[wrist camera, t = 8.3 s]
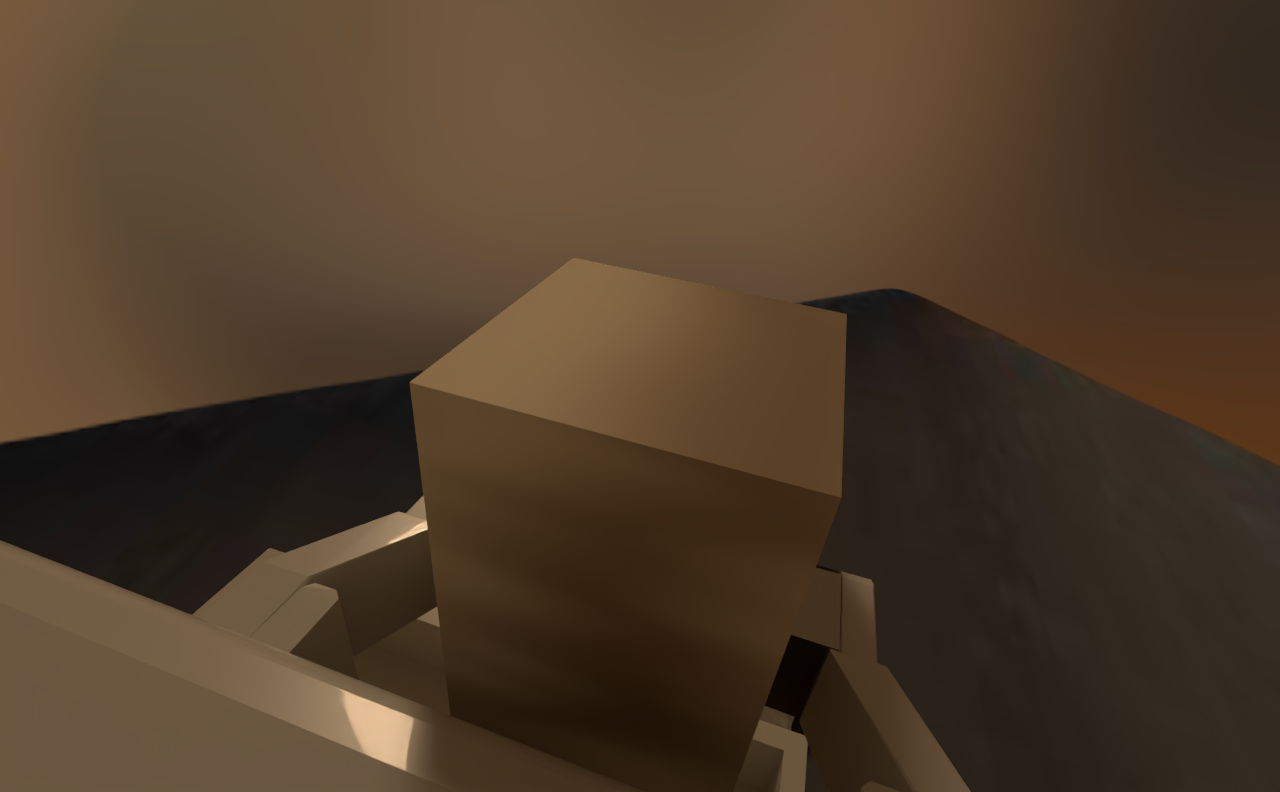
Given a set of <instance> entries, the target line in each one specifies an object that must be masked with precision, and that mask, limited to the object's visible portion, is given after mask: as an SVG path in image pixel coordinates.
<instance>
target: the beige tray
mask: <svg viewBox="0 0 1280 792" xmlns="http://www.w3.org/2000/svg"><path fill="white" fill-rule="evenodd" d="M281 554H284V553H283V552H280V551H277V550H274V549H271V548H269V549H268V550H267V551H265V552H264V553H263V554H262V555H261V556H260V557H258V558H257V559H256V560H255V561H254V562H253V563H252V564H250V565H249V566H248V567H247V568H246V569H245V570H243V571H242V572H241V573H240V574H239V575H238V576H236V577H235V578H234V579H233V580H232V581H231V582H230V583H228V584H227V585H226V586H225V587H224V588H223V589H221V590H220V591H219V592H218V593H217V594H216V595H214V596H213V597H212V598H211V599H210V600H209V601H208V602H206V603H205V604H204V605H203V606H202V607H201V608H199V609H198V610H197V611H196V612H195V613H194V614H192V615H193V616H195V617H199V616H201V615H202V614H203V613H204V612H205V611H206V610H207V609H209V608H210V607H211V606H212V605H213V604H214V603H215V602H217V601H218V600H219V599H220V598H221V597H222V596H224V595H225V594H226V593H227V592H228V591H229V590H230V589H232V588H233V587H234V586H235V585H236V584H237V583H238V582H240V581H241V580H242V579H243V578H244V577H245V576H246V575H248V574H249V573H250V572H251V571H252V570H253V569H255V568H256V567H257V566H258V565H259V564H260V563H261V562H263V561H265V560H268V559H271V558H273V557H276V556H279V555H281ZM354 659H355V663H356V667H357V671H358V674H359V678H360V681H362V682H365V683H367V684H370V685H373V686H375V687H378V688H380V689H383V690H385V691H388V692H391V693H393V694H396V695H398V696H401V697H403V698H406V699H409V700H411V701H414V702H416V703H419V704H421V705H424V706H427V707H429V708H432V709H434V710H437V711H439V712H442V713H445V714H447V715H450V707H449V699H448V691H447V682H446V674H445V666H444V658H443V650H442V642H441V634H440V625H439V617H438V609H437V607H436V608H434V609H432V610H431V611H429V612H427V613H426V614H424V615H422V616H421V617H419V618H417V619H416V620H414V621H412V622H411V623H409V624H407V625H406V626H404V627H402V628H401V629H399V630H397V631H396V632H394V633H392V634H391V635H389V636H387V637H386V638H384V639H382V640H381V641H379V642H377V643H376V644H374V645H372V646H371V647H369V648H367V649H366V650H364V651H363V652H361V653H359V654H358V655H356V656H354ZM450 716H451V715H450ZM807 746H808V742H807V740H806V737H805V735H802V734H799V733H796V732H793V731H790V730H788V729H785V728H782V727H779V726H776V725H773V724H770V723H768V722H765V721H762V720H759V722H758V725H757V728H756V731H755V733H754V736H753V739H752V741H751V744H750V747H749V750H748V752H747V755H746V758H745V760H744V763H743V766H742V769H741V771H740V774H739V777H738V779H737V782H736V785H735V788H734V790H733V792H804V790H805V776H806V761H807Z"/></svg>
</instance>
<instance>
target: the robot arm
mask: <svg viewBox="0 0 1280 792" xmlns="http://www.w3.org/2000/svg"><path fill="white" fill-rule="evenodd" d="M436 607H437V601H436V593H435V585H434V577H433V568H432V560H431V552H430V544H429V536H428V528H427V520H426V511H425V503H424V495H423V496H422V497H421V498H420V499H419V500H418V501H417V502H416V503H415V504H414V505H413V506H412V507H411V509H410V510H409V511H408V512H407V513H406V514H405V513H402V512H396V513H393V514H391V515H388V516H385V517H382V518H380V519H377V520H374V521H371V522H369V523H366V524H363V525H361V526H358V527H355V528H352V529H350V530H347V531H344V532H341V533H339V534H336V535H333V536H331V537H328V538H325V539H322V540H320V541H317V542H314V543H311V544H309V545H306V546H303V547H301V548H298V549H295V550H292V551H290V552H287V553H284V554H281V555H279V556H276V557H273V558H271V559H268V560H265V561H263V562H261V563H260V564H259V565H258V566H257V567H256V568H255V569H253V570H252V571H251V572H250V573H249V574H248V575H246V576H245V577H244V578H243V579H242V580H241V581H240V582H238V583H237V584H236V585H235V586H234V587H233V588H232V589H230V590H229V591H228V592H227V593H226V594H225V595H224V596H222V597H221V598H220V599H219V600H218V601H217V602H215V603H214V604H213V605H212V606H211V607H210V608H209V609H207V610H206V611H205V612H204V613H203V614H202V615H201V616H199V617H195V616H193V615H190V614H187V613H185V612H182V611H180V610H177V609H175V608H172V607H170V606H167V605H164V604H162V603H159V602H157V601H154V600H152V599H149V598H146V597H144V596H141V595H139V594H136V593H134V592H131V591H128V590H126V589H123V588H121V587H118V586H116V585H113V584H111V583H108V582H105V581H103V580H100V579H98V578H95V577H93V576H90V575H87V574H85V573H82V572H80V571H77V570H75V569H72V568H69V567H67V566H64V565H62V564H59V563H57V562H54V561H52V560H49V559H46V558H44V557H41V556H39V555H36V554H34V553H31V552H28V551H26V550H23V549H21V548H18V547H16V546H13V545H10V544H8V543H5V542H3V541H0V792H646V791H643V790H641V789H638V788H635V787H633V786H630V785H628V784H625V783H623V782H620V781H617V780H615V779H612V778H610V777H607V776H605V775H602V774H599V773H597V772H594V771H592V770H589V769H587V768H584V767H581V766H579V765H576V764H574V763H571V762H569V761H566V760H563V759H561V758H558V757H556V756H553V755H550V754H548V753H545V752H543V751H540V750H538V749H535V748H532V747H530V746H527V745H525V744H522V743H519V742H517V741H514V740H512V739H509V738H507V737H504V736H501V735H499V734H496V733H494V732H491V731H489V730H486V729H483V728H481V727H478V726H476V725H473V724H470V723H468V722H465V721H463V720H460V719H458V718H455V717H452V716H450V715H447V714H445V713H442V712H439V711H437V710H434V709H432V708H429V707H427V706H424V705H421V704H419V703H416V702H414V701H411V700H409V699H406V698H403V697H401V696H398V695H396V694H393V693H391V692H388V691H385V690H383V689H380V688H378V687H375V686H373V685H370V684H367V683H365V682H362V681H360V678H359V674H358V671H357V667H356V663H355V659H354V656H356V655H358V654H359V653H361V652H363V651H364V650H366V649H367V648H369V647H371V646H372V645H374V644H376V643H377V642H379V641H381V640H382V639H384V638H386V637H387V636H389V635H391V634H392V633H394V632H396V631H397V630H399V629H401V628H402V627H404V626H406V625H407V624H409V623H411V622H412V621H414V620H416V619H417V618H419V617H421V616H422V615H424V614H426V613H427V612H429V611H431V610H432V609H434V608H436ZM765 706H767V707H769V708H772V709H775V710H777V711H780V712H783V713H785V714H788V715H791V716H794V717H796V718H799V719H800V720H799V723H800V725H801V728H802V730H803V732H804V735H805V737H806V740H807V742H808V745H809V747H810V750H811V752H812V755H813V757H814V759H815V762H816V764H817V767H818V769H819V772H820V774H821V777H822V779H823V782H824V784H825V786H826V789H827V791H828V792H970V790H969V789H968V787H967V786H966V784H965V783H964V781H963V780H962V778H961V777H960V775H959V774H958V772H957V771H956V769H955V768H954V766H953V765H952V763H951V762H950V760H949V759H948V757H947V756H946V754H945V753H944V751H943V750H942V748H941V747H940V745H939V744H938V742H937V741H936V739H935V738H934V736H933V735H932V733H931V732H930V731H929V729H928V728H927V726H926V725H925V723H924V722H923V720H922V719H921V717H920V716H919V714H918V713H917V711H916V710H915V708H914V707H913V705H912V704H911V702H910V701H909V699H908V698H907V696H906V695H905V693H904V692H903V690H902V689H901V687H900V686H899V684H898V683H897V681H896V680H895V678H894V677H893V675H892V674H891V672H890V671H889V669H888V668H887V667H885V666H883V665H880V664H877V645H876V621H875V598H874V584H873V582H872V581H871V580H870V579H866V578H862V577H859V576H855V575H852V574H848V573H844V572H839V571H837V570H833V569H829V568H826V567H822V566H819V565H816V568H815V571H814V573H813V576H812V579H811V581H810V584H809V587H808V590H807V592H806V595H805V598H804V600H803V603H802V606H801V609H800V611H799V614H798V617H797V619H796V622H795V625H794V628H793V630H792V633H791V636H790V638H789V641H788V644H787V647H786V649H785V652H784V655H783V657H782V660H781V663H780V666H779V668H778V671H777V674H776V676H775V679H774V682H773V685H772V687H771V690H770V693H769V695H768V698H767V701H766V704H765Z"/></svg>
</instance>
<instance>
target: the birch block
mask: <svg viewBox="0 0 1280 792" xmlns="http://www.w3.org/2000/svg"><path fill="white" fill-rule="evenodd" d="M846 320H847V314H843V313H839V312H834V311H829V310H824V309H819V308H814V307H810V306H805V305H800V304H795V303H790V302H785V301H780V300H775V299H771V298H766V297H761V296H756V295H751V294H747V293H742V292H736V291H732V290H727V289H722V288H718V287H713V286H708V285H703V284H698V283H693V282H688V281H684V280H678V279H674V278H669V277H664V276H659V275H655V274H649V273H645V272H640V271H635V270H630V269H626V268H620V267H616V266H611V265H605V264H601V263H596V262H591V261H586V260H582V259H577V258H573V259H571V260H570V261H569V262H568V263H566V264H565V265H563V266H562V267H561V268H560V269H558V270H557V271H556V272H554V273H553V274H552V275H550V276H549V277H548V278H546V279H545V280H544V281H542V282H541V283H540V284H539V285H537V286H536V287H534V288H533V289H532V290H531V291H529V292H528V293H527V294H526V295H524V296H523V297H521V298H520V299H519V300H517V301H516V302H515V303H513V304H512V305H511V306H509V307H508V308H507V309H506V310H504V311H503V312H502V313H500V314H499V315H498V316H496V317H495V318H494V319H492V320H491V321H490V322H488V323H487V324H486V325H484V326H483V327H482V328H481V329H479V330H478V331H477V332H475V333H474V334H473V335H471V336H470V337H469V338H467V339H466V340H465V341H463V342H462V343H461V344H459V345H458V346H457V347H456V348H454V349H453V350H452V351H450V352H449V353H448V354H446V355H445V356H444V357H443V358H441V359H440V360H438V361H437V362H436V363H434V364H433V365H432V366H431V367H429V368H428V369H427V370H425V371H424V372H423V373H421V374H420V375H419V376H417V377H416V378H415V379H413V380H412V381H411V382H410V389H411V397H412V406H413V414H414V422H415V430H416V438H417V446H418V454H419V463H420V471H421V479H422V487H423V495H424V503H425V511H426V520H427V528H428V536H429V544H430V552H431V560H432V568H433V577H434V585H435V593H436V601H437V609H438V617H439V625H440V634H441V642H442V650H443V658H444V666H445V674H446V682H447V691H448V699H449V707H450V715H451V716H452V717H455V718H458V719H460V720H463V721H465V722H468V723H470V724H473V725H476V726H478V727H481V728H483V729H486V730H489V731H491V732H494V733H496V734H499V735H501V736H504V737H507V738H509V739H512V740H514V741H517V742H519V743H522V744H525V745H527V746H530V747H532V748H535V749H538V750H540V751H543V752H545V753H548V754H550V755H553V756H556V757H558V758H561V759H563V760H566V761H569V762H571V763H574V764H576V765H579V766H581V767H584V768H587V769H589V770H592V771H594V772H597V773H599V774H602V775H605V776H607V777H610V778H612V779H615V780H617V781H620V782H623V783H625V784H628V785H630V786H633V787H635V788H638V789H641V790H643V791H646V792H733V790H734V788H735V785H736V782H737V779H738V777H739V774H740V771H741V769H742V766H743V763H744V760H745V758H746V755H747V752H748V750H749V747H750V744H751V741H752V739H753V736H754V733H755V731H756V728H757V725H758V722H759V720H760V717H761V714H762V712H763V709H764V706H765V704H766V701H767V698H768V695H769V693H770V690H771V687H772V685H773V682H774V679H775V676H776V674H777V671H778V668H779V666H780V663H781V660H782V657H783V655H784V652H785V649H786V647H787V644H788V641H789V638H790V636H791V633H792V630H793V628H794V625H795V622H796V619H797V617H798V614H799V611H800V609H801V606H802V603H803V600H804V598H805V595H806V592H807V590H808V587H809V584H810V581H811V579H812V576H813V573H814V571H815V568H816V565H817V562H818V560H819V557H820V554H821V552H822V549H823V546H824V543H825V541H826V538H827V535H828V533H829V530H830V527H831V524H832V522H833V519H834V516H835V514H836V511H837V508H838V505H839V503H840V500H841V493H842V458H843V423H844V389H845V354H846Z"/></svg>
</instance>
